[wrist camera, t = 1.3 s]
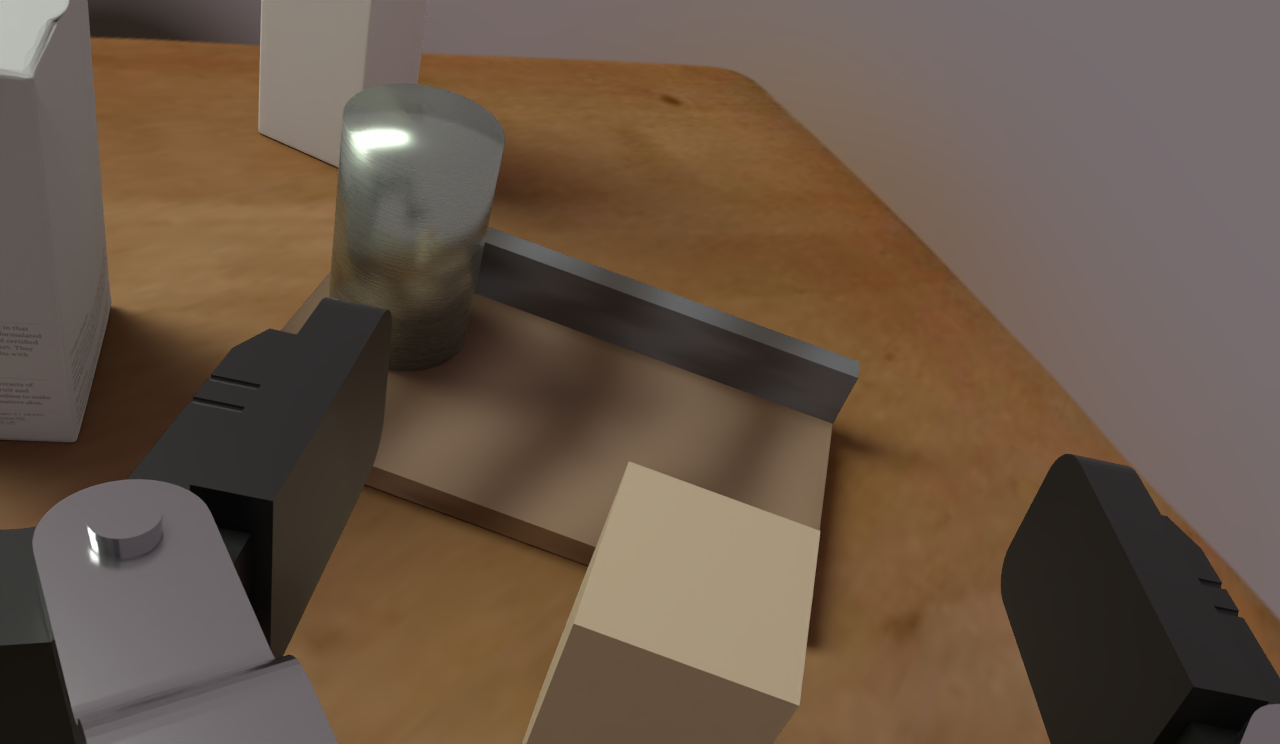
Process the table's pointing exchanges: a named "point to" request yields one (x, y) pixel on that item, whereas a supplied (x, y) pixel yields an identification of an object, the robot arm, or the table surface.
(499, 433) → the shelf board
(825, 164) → the table surface
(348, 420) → the robot arm
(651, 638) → the kraft carton
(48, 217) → the skincare box
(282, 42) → the milk
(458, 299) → the oat tin
